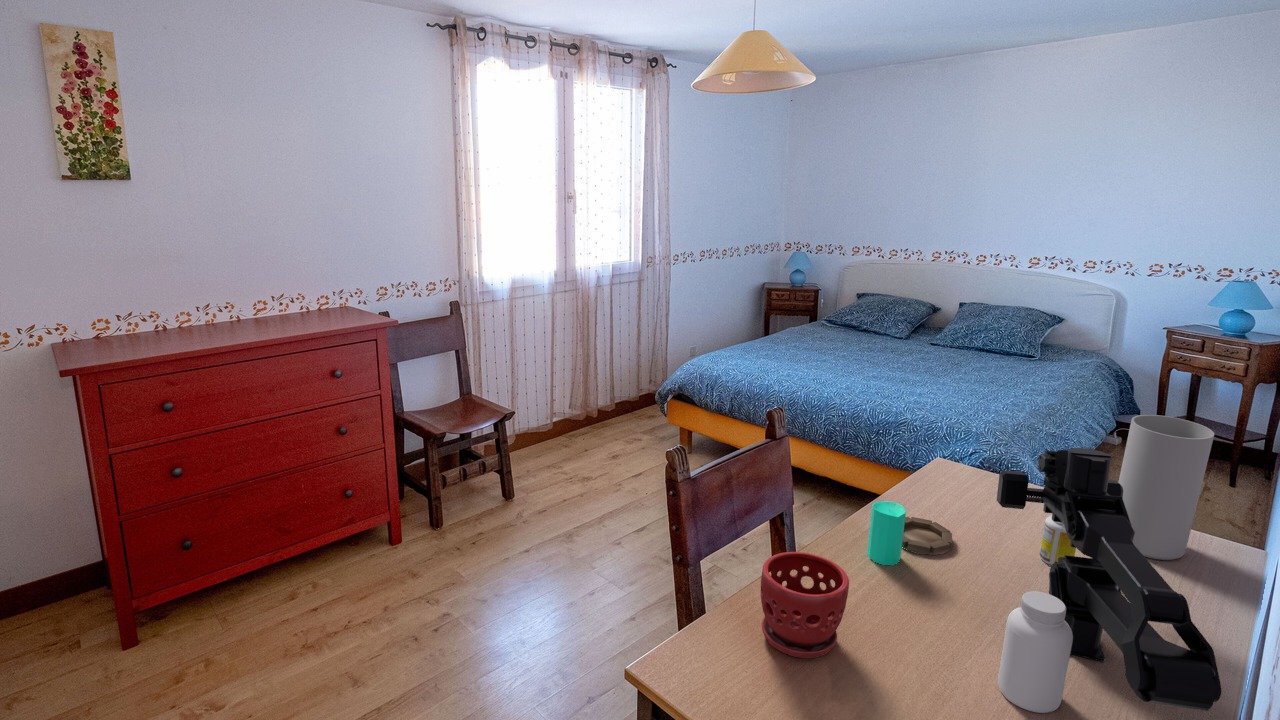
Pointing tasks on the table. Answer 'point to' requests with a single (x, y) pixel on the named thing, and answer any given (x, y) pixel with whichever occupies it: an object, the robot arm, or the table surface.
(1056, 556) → the supplement bottle
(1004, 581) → the table surface
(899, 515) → the candle
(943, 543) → the ring seat
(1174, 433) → the cylinder vase
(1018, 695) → the pill bottle
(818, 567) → the plant pot
